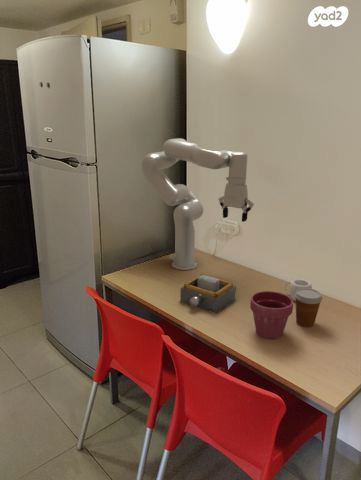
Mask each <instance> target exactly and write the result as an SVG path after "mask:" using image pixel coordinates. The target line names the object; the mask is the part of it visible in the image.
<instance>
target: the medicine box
mask: <svg viewBox="0 0 361 480" xmlns="http://www.w3.org/2000/svg"><path fill="white" fill-rule="evenodd" d="M202 275H203V276H201V277H199V278H198V287H199V288H202V289H205V290H208V291H212V292H215V293H216V292H217V291H219V279H220V278H217V279H216V277H213V276H210V275H209V276H208V275H206V276H205V274H202Z"/></svg>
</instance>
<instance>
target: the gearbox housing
mask: <svg viewBox="0 0 361 480" xmlns="http://www.w3.org/2000/svg"><path fill="white" fill-rule="evenodd" d="M203 275H205V274H200V275H197V276H196V277H194V278H193V279H191V280H189V281H187V282H186V283H184V284H183V286H182V287H180V295H179V296H180V301H179V302H181V303H184V304H186V305H190V306H191V308H199V309H201V310H204V311H206V312H207V311H208V312H209V313H210V312H211V313H213V314H216V315H217V314H219V313H220V312H221V311H222V310H224V309H225V308H227V307H228V306H230V304H233V302H234V301H235V300H236V293H237V285H234V283H233V282H230V281H227V280H223V279H220V278H216V277H215V278H216V279H219V291H217V292H216V293H215V292H212V291H208V290H205V289H202V288H199V287H198V278H199V277H201V276H203ZM205 276H207V275H205Z"/></svg>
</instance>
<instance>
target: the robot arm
mask: <svg viewBox="0 0 361 480" xmlns="http://www.w3.org/2000/svg"><path fill="white" fill-rule="evenodd" d="M178 161H185V162H189V163H192V164H194V165H196V166H198V167H202V168H206V169H210V170H220V169H225V168H228V176H226V178H225V180H226V181H227V183H226V184H225V188H224V192H223V193H224V194H223V196H220V197H219V198H218V202H219V205H220V206H221V209H222V218H223V219H225V218H228V216H229V208H228V207H230V208H235V209H241V210H242V213H241V222H242V223H244V222H246V221H247V220H248V215H249V212H250V211H252V209H253V207H254V205H255V204H254V202H252V201H251V200H250V199H248V198H249V197H248V195H249V194H248V186H247V184H246V183H247V181H246V180H247V169H248V153H247V152H243V151H231V150H226V149H222V150H216V151H213V150H208V149H204V148H201V147H199V144H197V143H194V142H190V141H187V140H186V139H184V138H182V137H181V138H179V137H178V138H169V139H168V140H166V141H165V142H164V143H163V146H162V151H157V152H150V153H148V154H146V155H145V156H144V157H143V158H142V160H141V172H142V175H143V176H144V178H145V180H147V182H148V183H149V184H150V185H151V186H152V188H153V189H154V190H155V192H156V193H157V194H158V195H159V197H160V198H161V199H162V200H163V202H164V203H165V204H166V205H167V206H171V207H173V206H176V208H175V209H174V210H173V220H174V232H175V234H174V239H175V241H174V243H175V244H174V247H175V248H174V254H173V253H170V255H169V258H168V259H170V260H172V262H171V266H172V268H174V269H175V270H180V271H181V270H182V271H189V270H194V269H196V268H197V267H198V263H197V261H196V260H195V243H196V242H195V240H196V239H195V235H196V234H195V233H196V231H195V225H194V221H195V220H199V219H200V218H201V217H202V216H203V215H204V214H203V213H204V207H203V204H202V202H200V200H199V199H198V197H197V196H196V195H195V194H194V192H192V190H191V189H190V187H188V186H187V185H186V184H181V183H177V184H174V183H173V182H172V181H171V180H170V178H169V177H168V176H167V175H166V174H165V173H163V172H162V171H161V170H165V169H168V168H171V167H172V166H174V165H175V164H176V163H178ZM247 206H248V207H247Z"/></svg>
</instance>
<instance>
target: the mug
mask: <svg viewBox="0 0 361 480" xmlns="http://www.w3.org/2000/svg"><path fill="white" fill-rule="evenodd" d="M288 283H290V286H289V291H288V288H287V286H288ZM301 288H310V289H313V287H312V283H311V281H309V280H306V279H302V278H296V279H292V281H291V280H287V281H286V282H285V284H284V290H285V292H286V293H287V294H289V295H290V298H291V299H292V300H293V302H296V298H295V293H296V291H297V290H298V289H301Z"/></svg>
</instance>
